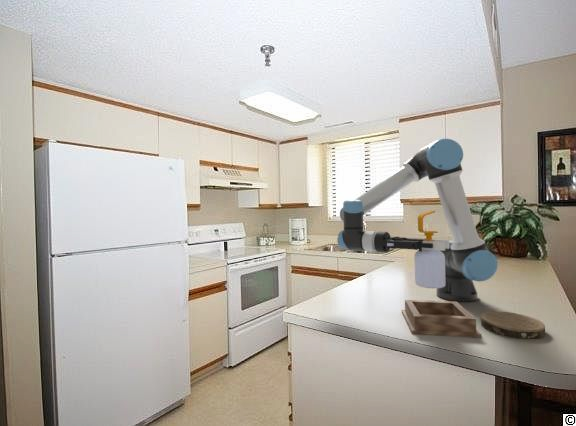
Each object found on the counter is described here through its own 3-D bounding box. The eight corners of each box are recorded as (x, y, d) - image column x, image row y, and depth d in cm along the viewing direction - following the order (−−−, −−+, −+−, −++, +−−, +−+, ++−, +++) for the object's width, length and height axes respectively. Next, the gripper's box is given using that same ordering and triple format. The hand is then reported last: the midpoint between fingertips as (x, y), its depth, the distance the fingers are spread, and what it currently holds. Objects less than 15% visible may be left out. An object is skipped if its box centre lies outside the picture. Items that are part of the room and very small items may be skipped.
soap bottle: (450, 288, 95) (448, 210, 94) (420, 288, 95) (418, 211, 95) (438, 282, 103) (437, 210, 103) (411, 282, 104) (410, 211, 104)
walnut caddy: (458, 314, 106) (458, 300, 106) (481, 337, 87) (481, 320, 87) (401, 312, 110) (401, 298, 110) (411, 333, 91) (411, 317, 91)
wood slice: (545, 327, 94) (545, 318, 94) (544, 345, 82) (544, 334, 82) (485, 316, 104) (485, 308, 104) (476, 331, 93) (476, 321, 92)
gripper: (387, 249, 118) (453, 253, 103) (366, 255, 104) (439, 261, 89) (386, 229, 118) (453, 231, 102) (366, 233, 104) (439, 235, 89)
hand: (446, 245), depth 96 cm, fingers closed on soap bottle, 5 cm apart
